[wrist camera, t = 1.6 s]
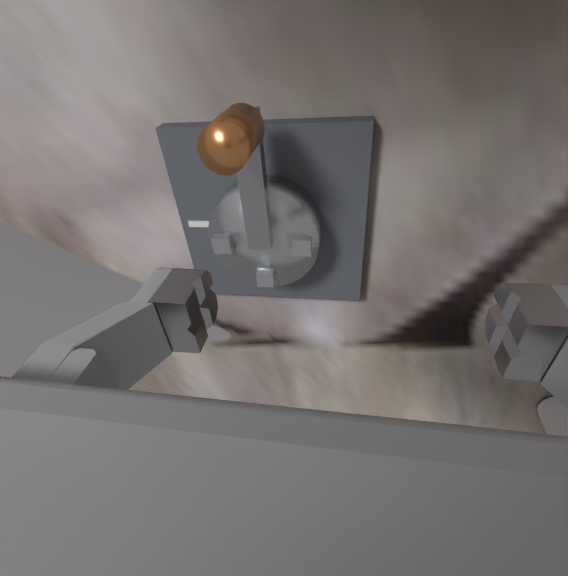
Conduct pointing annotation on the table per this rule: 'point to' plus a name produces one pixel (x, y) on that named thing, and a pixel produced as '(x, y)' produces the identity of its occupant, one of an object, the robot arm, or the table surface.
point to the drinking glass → (553, 417)
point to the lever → (257, 205)
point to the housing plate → (300, 170)
